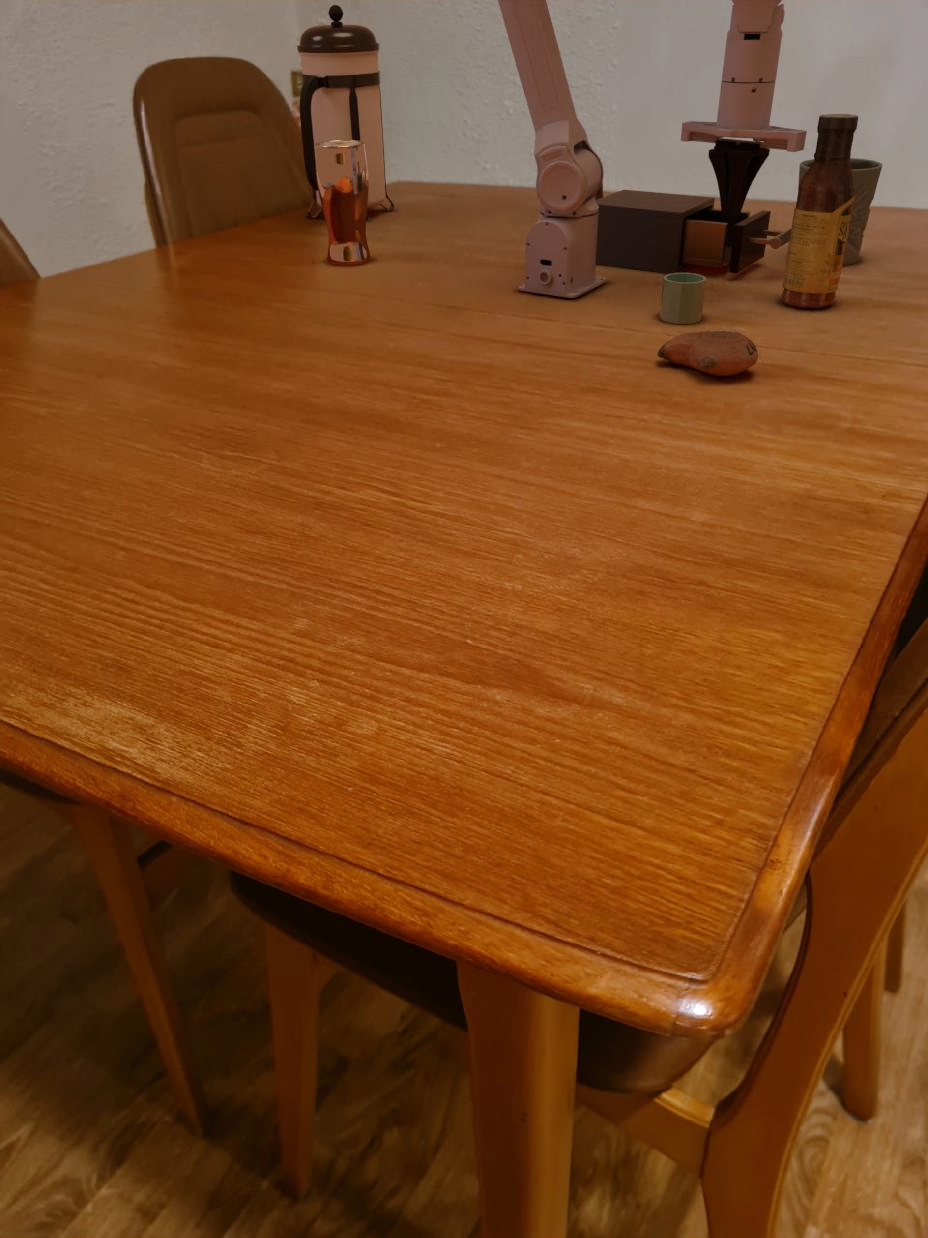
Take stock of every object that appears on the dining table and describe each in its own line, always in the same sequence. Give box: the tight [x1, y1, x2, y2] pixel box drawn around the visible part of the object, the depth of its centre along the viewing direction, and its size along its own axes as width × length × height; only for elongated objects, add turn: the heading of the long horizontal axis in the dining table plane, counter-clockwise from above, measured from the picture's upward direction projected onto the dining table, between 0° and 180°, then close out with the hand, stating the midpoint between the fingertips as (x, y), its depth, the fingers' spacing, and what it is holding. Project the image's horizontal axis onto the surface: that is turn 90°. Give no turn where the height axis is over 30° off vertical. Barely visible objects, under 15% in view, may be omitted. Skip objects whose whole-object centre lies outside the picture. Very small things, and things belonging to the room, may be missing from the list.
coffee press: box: [296, 4, 395, 222], centre depth 153 cm, size 17×16×30 cm
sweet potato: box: [656, 329, 759, 377], centre depth 94 cm, size 9×4×8 cm
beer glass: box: [315, 140, 372, 267], centre depth 131 cm, size 7×7×15 cm
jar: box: [659, 272, 707, 325], centre depth 108 cm, size 5×5×4 cm
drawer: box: [679, 207, 791, 274], centre depth 126 cm, size 17×10×6 cm, turn 57°
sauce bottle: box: [781, 113, 859, 309], centre depth 108 cm, size 7×6×20 cm
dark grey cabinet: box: [595, 189, 716, 274], centre depth 131 cm, size 14×12×8 cm
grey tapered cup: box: [797, 157, 883, 266], centre depth 128 cm, size 10×10×12 cm
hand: (730, 214), depth 111 cm, fingers closed
